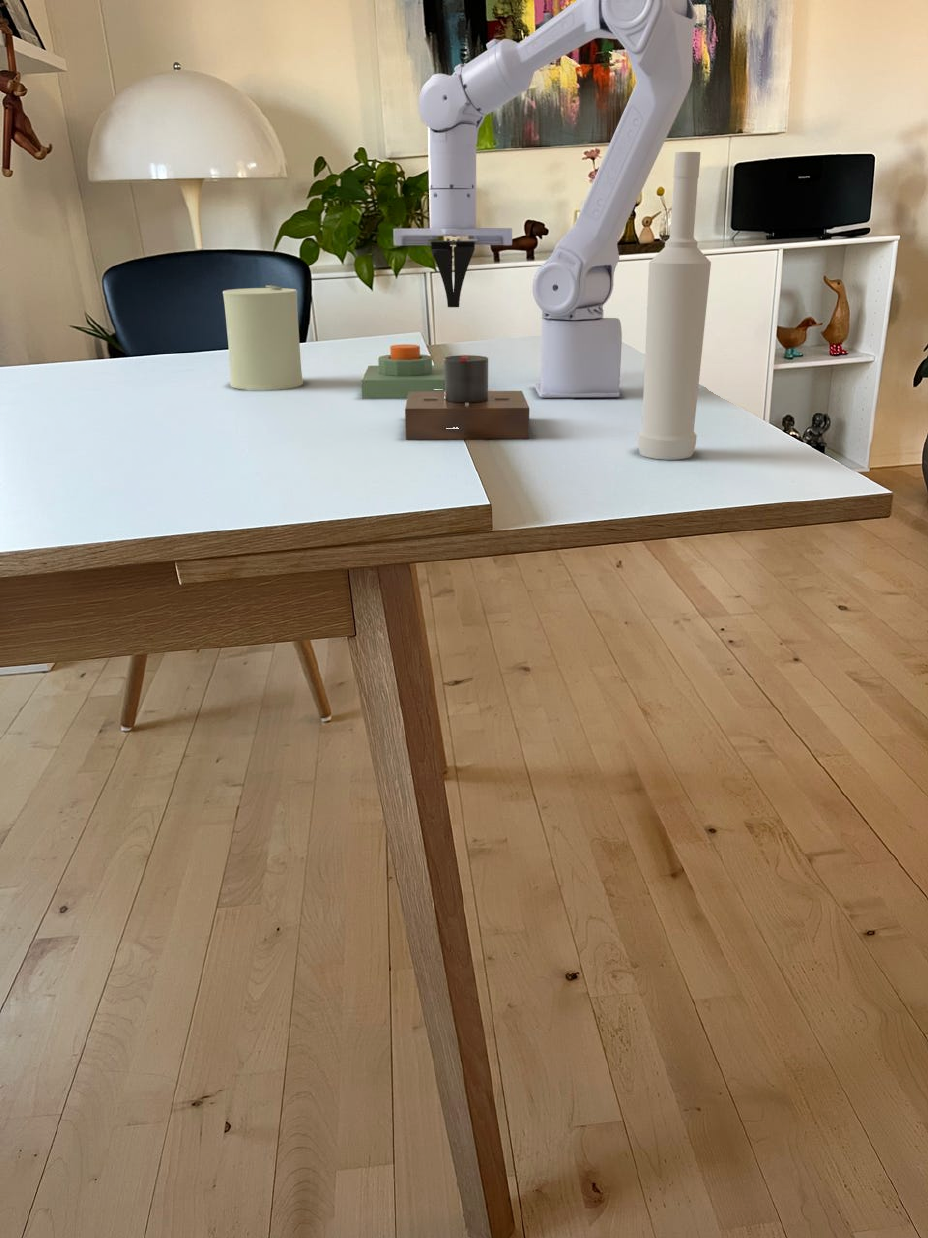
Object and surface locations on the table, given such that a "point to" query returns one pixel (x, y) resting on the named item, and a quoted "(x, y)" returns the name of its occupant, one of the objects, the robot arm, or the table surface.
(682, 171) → the bottle
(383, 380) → the green button base
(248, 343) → the can
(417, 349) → the button
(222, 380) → the table surface
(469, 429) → the dial panel
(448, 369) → the dial
